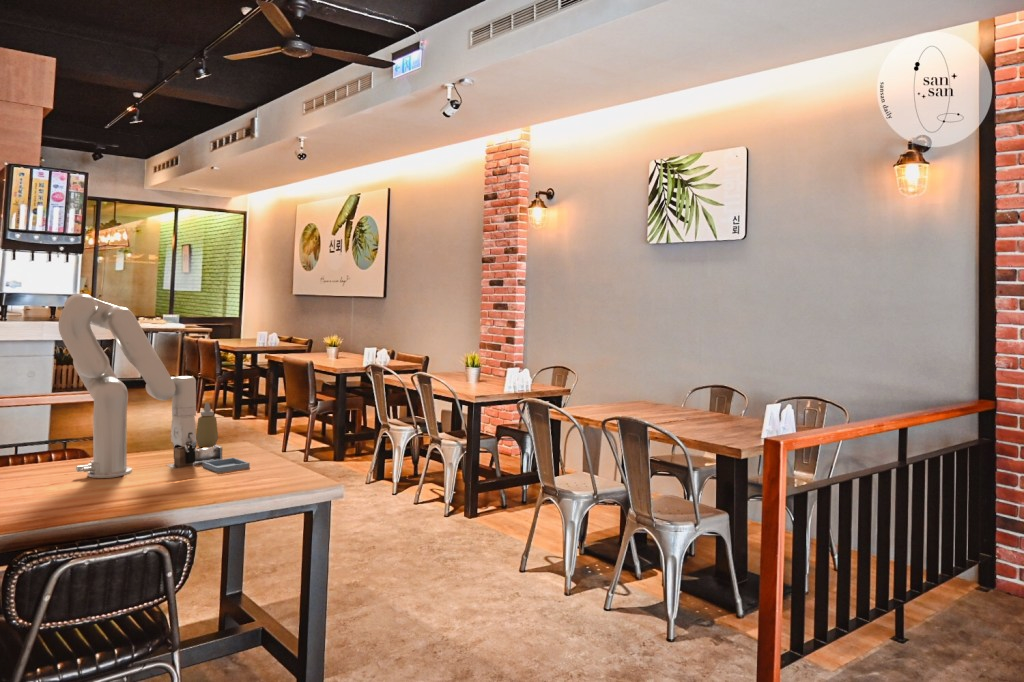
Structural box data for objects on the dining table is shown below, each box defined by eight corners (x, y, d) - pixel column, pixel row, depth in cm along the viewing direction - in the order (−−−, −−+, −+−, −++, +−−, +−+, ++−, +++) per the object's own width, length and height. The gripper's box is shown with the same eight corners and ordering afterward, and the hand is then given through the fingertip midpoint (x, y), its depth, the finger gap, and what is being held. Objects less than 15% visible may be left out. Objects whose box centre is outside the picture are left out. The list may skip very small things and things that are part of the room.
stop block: (179, 466, 238) (179, 449, 238) (174, 464, 241) (174, 447, 241) (192, 464, 241) (193, 447, 241) (187, 462, 244) (187, 445, 244)
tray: (217, 474, 231) (217, 467, 231) (202, 468, 239) (202, 462, 239) (249, 469, 240) (249, 462, 240) (234, 463, 247) (234, 457, 247)
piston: (197, 463, 242) (197, 450, 242) (191, 460, 246) (191, 448, 246) (222, 459, 249) (222, 447, 249) (215, 457, 252) (215, 444, 252)
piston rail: (174, 469, 236) (174, 468, 236) (166, 466, 240) (166, 465, 240) (227, 462, 249) (227, 460, 249) (218, 458, 254) (218, 457, 254)
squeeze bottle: (195, 446, 276) (196, 401, 275) (217, 444, 279) (218, 400, 278) (195, 449, 268) (196, 403, 267) (218, 448, 272) (218, 403, 271)
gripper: (162, 409, 243) (162, 458, 244) (183, 415, 232) (184, 466, 233) (184, 407, 249) (184, 455, 250) (206, 413, 238) (206, 463, 238)
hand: (184, 460), depth 241 cm, fingers open, 8 cm apart
